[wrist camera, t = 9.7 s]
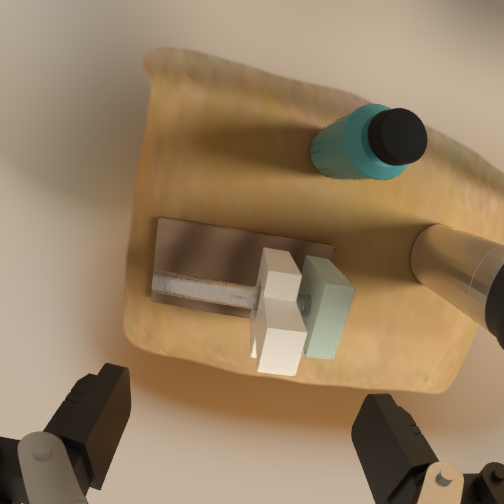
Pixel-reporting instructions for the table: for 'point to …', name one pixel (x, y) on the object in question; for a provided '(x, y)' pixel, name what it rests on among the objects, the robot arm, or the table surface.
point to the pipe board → (220, 257)
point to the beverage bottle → (369, 144)
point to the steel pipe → (216, 291)
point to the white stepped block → (277, 315)
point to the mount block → (324, 306)
